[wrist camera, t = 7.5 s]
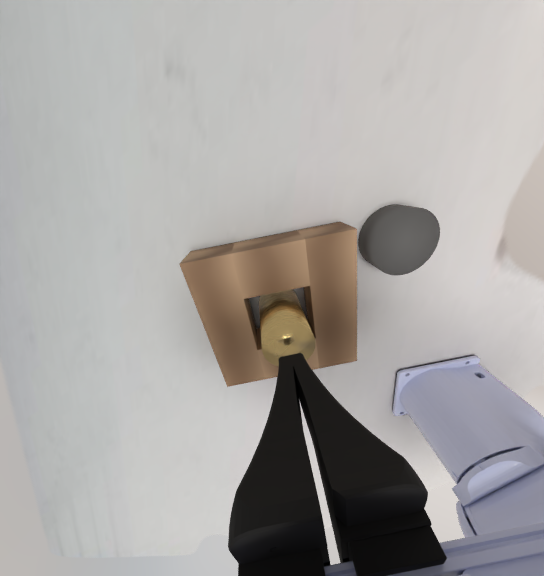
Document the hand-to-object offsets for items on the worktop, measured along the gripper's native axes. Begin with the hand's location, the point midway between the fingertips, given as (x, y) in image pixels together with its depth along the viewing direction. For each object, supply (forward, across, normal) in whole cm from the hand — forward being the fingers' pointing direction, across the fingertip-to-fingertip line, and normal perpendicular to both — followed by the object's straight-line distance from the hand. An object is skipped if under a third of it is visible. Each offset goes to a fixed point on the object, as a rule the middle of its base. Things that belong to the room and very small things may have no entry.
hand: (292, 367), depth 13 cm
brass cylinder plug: (+8, 0, 0) cm, 8 cm away
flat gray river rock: (+8, -10, -4) cm, 13 cm away
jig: (+8, 0, 0) cm, 8 cm away
